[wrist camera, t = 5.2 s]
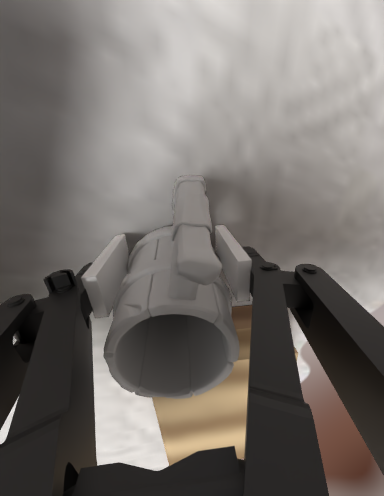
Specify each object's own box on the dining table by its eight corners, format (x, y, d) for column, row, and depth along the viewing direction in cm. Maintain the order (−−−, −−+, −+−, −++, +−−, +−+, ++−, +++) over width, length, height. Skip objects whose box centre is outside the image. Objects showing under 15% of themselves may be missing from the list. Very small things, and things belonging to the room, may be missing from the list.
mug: (130, 293, 19) (70, 468, 8) (135, 162, 15) (15, 160, 4) (207, 299, 20) (245, 462, 9) (234, 178, 16) (372, 214, 5)
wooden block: (153, 315, 20) (145, 371, 15) (266, 303, 21) (298, 353, 15) (171, 406, 27) (170, 468, 21) (257, 395, 27) (277, 453, 22)
